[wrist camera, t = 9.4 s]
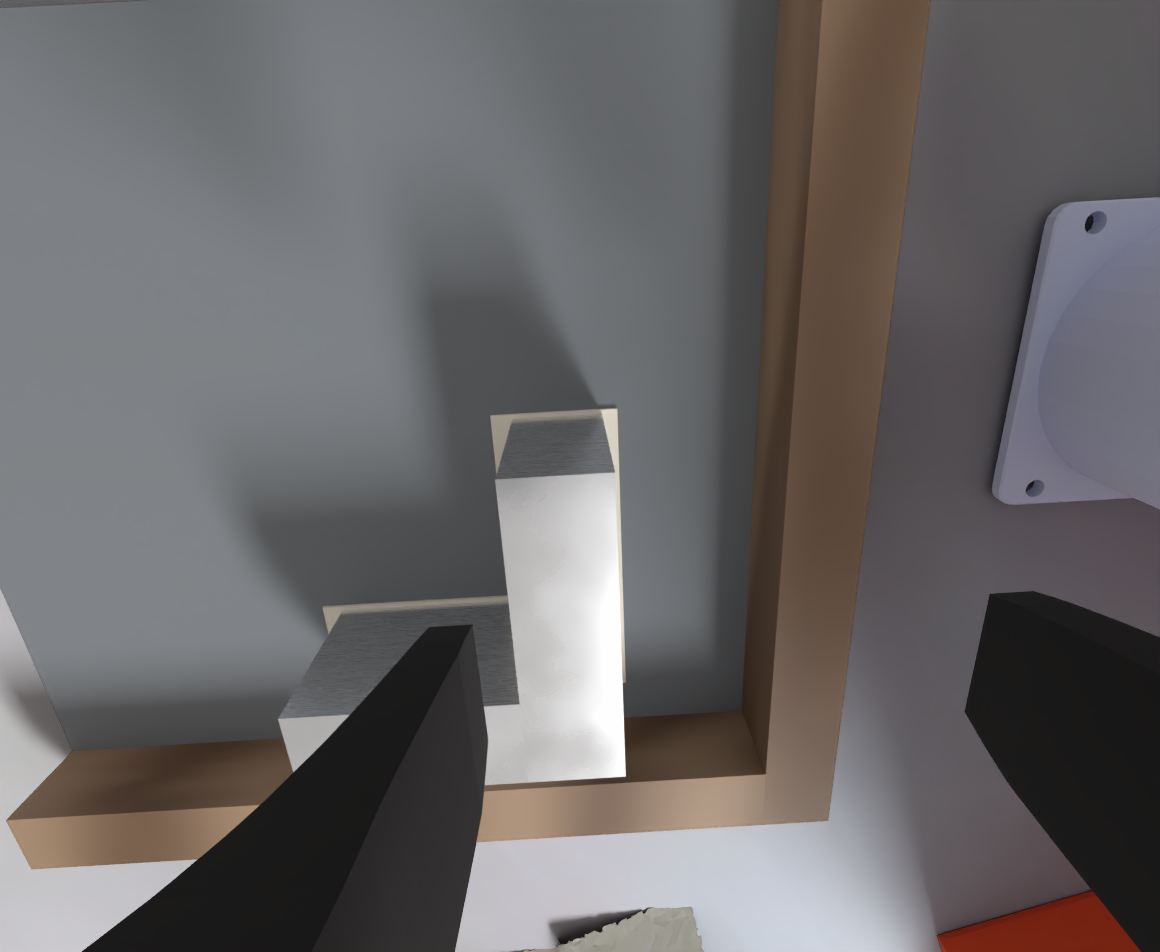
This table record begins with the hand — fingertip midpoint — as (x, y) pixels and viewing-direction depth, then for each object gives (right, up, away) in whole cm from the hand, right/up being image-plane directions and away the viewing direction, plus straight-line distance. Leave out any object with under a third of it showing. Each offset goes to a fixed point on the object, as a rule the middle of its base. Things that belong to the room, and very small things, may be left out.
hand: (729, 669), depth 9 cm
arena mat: (-7, +3, +9) cm, 12 cm away
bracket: (-5, 0, +9) cm, 11 cm away
